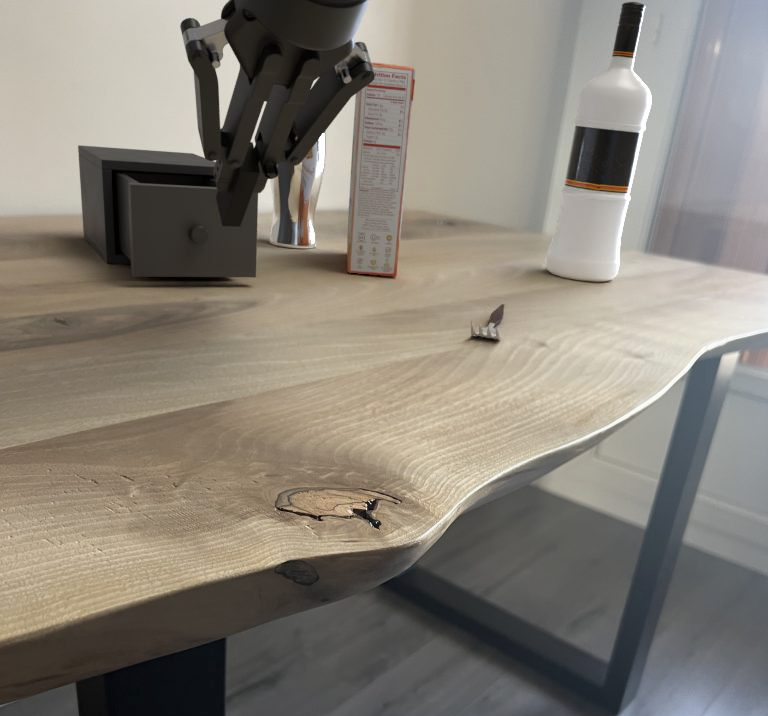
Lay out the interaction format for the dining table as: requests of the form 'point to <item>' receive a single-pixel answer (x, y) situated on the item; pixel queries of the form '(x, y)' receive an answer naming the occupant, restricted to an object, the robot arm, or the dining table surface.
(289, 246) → the beer glass
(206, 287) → the dining table surface
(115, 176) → the grey knobbed drawer
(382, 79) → the cracker box
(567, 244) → the vodka
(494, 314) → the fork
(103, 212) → the small drawer box
